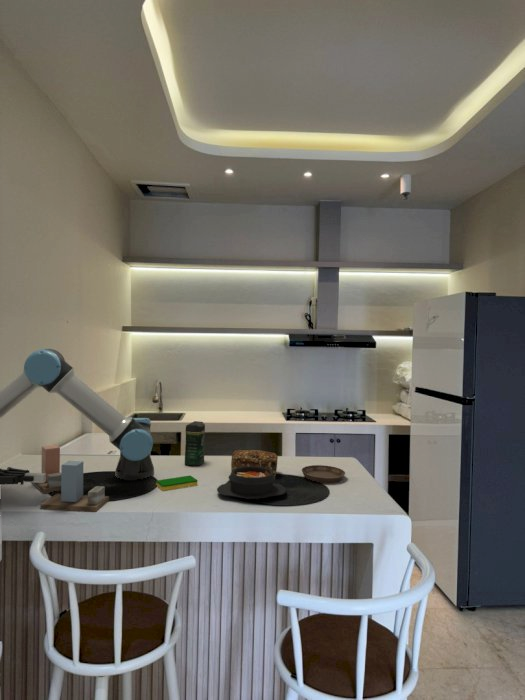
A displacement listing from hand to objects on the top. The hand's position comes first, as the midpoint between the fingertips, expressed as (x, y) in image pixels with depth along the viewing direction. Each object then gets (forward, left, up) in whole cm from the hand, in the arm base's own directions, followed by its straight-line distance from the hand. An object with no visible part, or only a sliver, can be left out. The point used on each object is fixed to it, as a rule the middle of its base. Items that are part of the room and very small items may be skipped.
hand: (44, 478), depth 152 cm
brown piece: (+8, -18, -8) cm, 22 cm away
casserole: (-68, -18, -9) cm, 70 cm away
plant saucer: (-95, -42, -9) cm, 104 cm away
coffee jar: (-39, -54, -9) cm, 67 cm away
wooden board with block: (-11, 0, -8) cm, 14 cm away
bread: (-66, -42, -9) cm, 79 cm away
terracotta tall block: (+9, -19, -6) cm, 22 cm away
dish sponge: (-39, -24, -9) cm, 46 cm away
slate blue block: (-10, 0, -6) cm, 12 cm away
